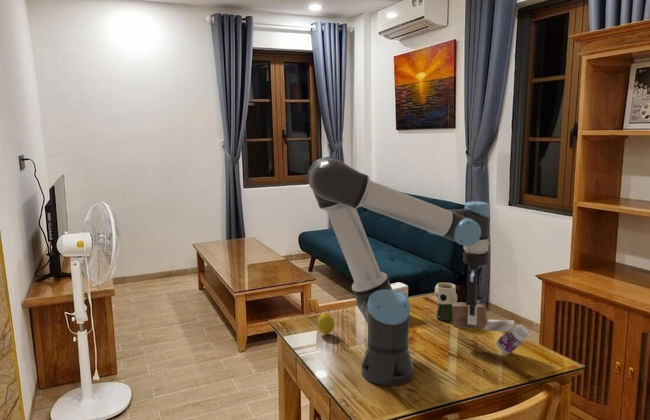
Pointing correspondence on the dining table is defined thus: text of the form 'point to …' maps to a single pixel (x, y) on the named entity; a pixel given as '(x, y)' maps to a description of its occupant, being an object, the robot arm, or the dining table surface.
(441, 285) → the character mug
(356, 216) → the robot arm
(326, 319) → the lemon
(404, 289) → the ink box
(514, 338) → the pill bottle
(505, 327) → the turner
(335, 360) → the dining table surface
